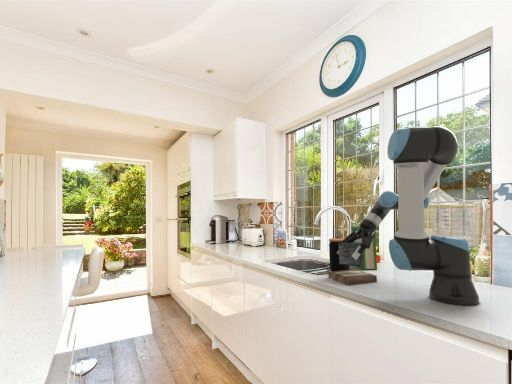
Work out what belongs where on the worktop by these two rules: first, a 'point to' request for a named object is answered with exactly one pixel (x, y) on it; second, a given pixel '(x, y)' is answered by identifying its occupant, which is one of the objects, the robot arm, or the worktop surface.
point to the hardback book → (367, 253)
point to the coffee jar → (336, 255)
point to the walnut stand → (352, 277)
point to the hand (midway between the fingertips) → (346, 256)
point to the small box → (349, 254)
